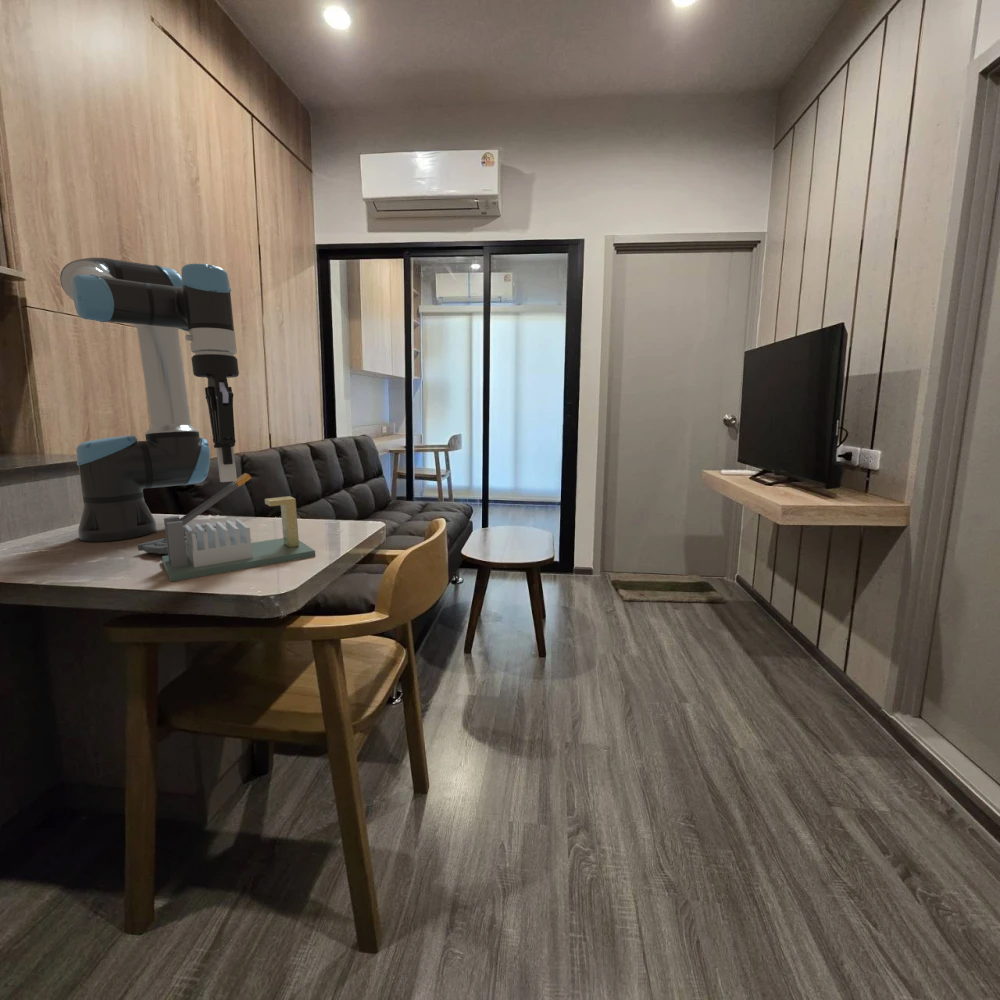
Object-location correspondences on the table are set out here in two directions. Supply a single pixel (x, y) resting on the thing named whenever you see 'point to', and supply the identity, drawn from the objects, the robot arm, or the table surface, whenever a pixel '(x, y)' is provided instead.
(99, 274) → the robot arm
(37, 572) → the table surface
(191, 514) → the strap
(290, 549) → the board
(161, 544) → the graphics card
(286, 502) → the block
